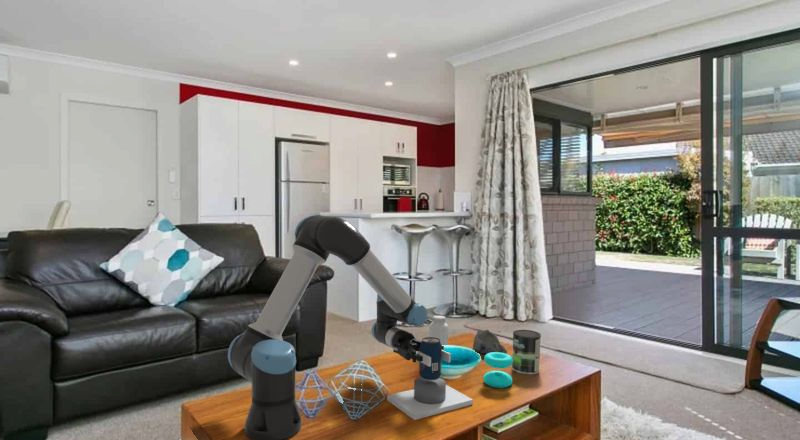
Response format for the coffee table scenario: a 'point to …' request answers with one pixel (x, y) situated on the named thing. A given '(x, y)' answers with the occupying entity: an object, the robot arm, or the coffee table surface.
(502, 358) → the donuts
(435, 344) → the soda can
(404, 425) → the coffee table surface
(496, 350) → the mineral rock
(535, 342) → the coffee can
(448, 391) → the plinth stand
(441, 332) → the pill bottle
